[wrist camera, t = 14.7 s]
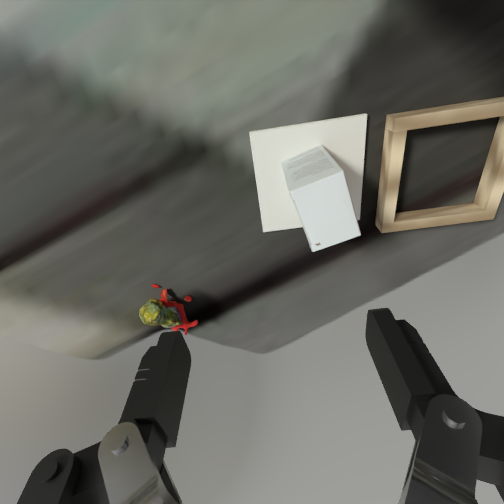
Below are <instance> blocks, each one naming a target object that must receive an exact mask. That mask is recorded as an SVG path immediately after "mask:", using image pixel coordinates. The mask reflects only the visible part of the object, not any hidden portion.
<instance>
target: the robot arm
mask: <svg viewBox="0 0 504 504" xmlns="http://www.w3.org/2000/svg"><path fill="white" fill-rule="evenodd" d="M366 342H367V346H368V349H369V351H370V354H371V356H372V359H373V361H374V364H375V366H376V369H377V371H378V374H379V376H380V379H381V381H382V384H383V386H384V389H385V391H386V393H387V396H388V398H389V401H390V403H391V406H392V408H393V411H394V413H395V416H396V418H397V421H398V423H399V426H400V428H401V430H411V431H412V433H413V435H414V438H415V440H416V441H415V445H414V448H413V452H412V456H411V459H410V464H409V467H408V471H407V474H406V478H405V482H404V486H403V489H402V493H401V497H400V500H399V503H398V504H478V503H477V500H476V499H475V486H476V479H477V480H480V481H484V482H487V483H490V484H494V485H495V486H496V488H497V490H498V492H499V494H500V496H501V497H502V499H503V501H504V417H502V416H498V415H493V414H489V413H485V412H482V411H479V410H477V409H474V408H473V407H471V406H470V405H469V404H468V403H467V402H465V401H464V400H462V399H460V398H459V397H458V396H457V395H456V394H455V392H454V391H453V390H452V388H451V386H450V385H449V383H448V382H447V380H446V378H445V376H444V375H443V373H442V372H441V370H440V368H439V367H438V365H437V363H436V362H435V360H434V358H433V357H432V355H431V354H430V353H429V350H428V348H427V347H426V345H425V344H424V343H423V341H422V339H421V337H420V335H419V334H418V332H417V330H416V329H415V328H414V327H413V326H411V325H410V324H409V323H408V322H406V321H405V320H395V319H394V316H393V314H392V313H391V311H390V310H389V309H388V308H381V309H373V310H368V314H367V324H366ZM190 367H191V355H190V351H189V349H188V347H187V344H186V342H185V340H184V338H183V336H182V333H181V332H180V331H172V332H164V333H162V334H161V335H160V337H159V341H158V344H157V346H152V347H150V348H149V349H148V351H147V352H146V354H145V355H144V356H143V357H142V360H141V363H140V366H139V368H138V372H137V374H136V377H135V382H134V383H133V386H132V388H131V391H130V394H129V396H128V399H127V402H126V405H125V408H124V411H123V413H122V417H121V419H120V421H119V423H118V425H116V426H115V427H113V428H112V429H111V430H110V431H109V432H108V433H107V434H106V435H105V437H104V438H103V440H102V441H101V442H99V443H97V444H95V445H92V446H90V447H88V448H85V449H83V450H81V451H79V452H76V453H74V454H73V453H72V452H71V451H69V450H68V449H58V450H56V451H53V452H51V453H50V454H48V455H47V456H46V457H44V458H43V459H42V460H41V461H40V462H39V463H38V465H37V466H36V467H35V469H34V470H33V472H32V473H31V475H30V477H29V479H28V481H27V484H26V486H25V488H24V490H23V492H22V494H21V496H20V498H19V500H18V502H17V504H183V503H182V500H181V498H180V496H179V494H178V491H177V489H176V487H175V484H174V482H173V480H172V478H171V475H170V473H169V471H168V469H167V466H166V464H165V462H164V460H163V458H164V454H165V449H166V448H170V447H175V446H176V441H177V435H178V430H179V424H180V420H181V414H182V409H183V404H184V399H185V394H186V388H187V383H188V378H189V372H190Z"/></svg>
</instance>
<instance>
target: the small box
mask: <svg viewBox="0 0 504 504" xmlns="http://www.w3.org/2000/svg"><path fill="white" fill-rule="evenodd" d="M281 165H282V169H283V172H284V176H285V180H286V184H287V187H288V191H289V194H290V196H291V198H292V200H293V203H294V205H295V208H296V210H297V213H298V215H299V218H300V220H301V223H302V226H303V228H304V231H305V233H306V236H307V239H308V241H309V244H310V247H311V250H312V252H314V251H317V250H320V249H323V248H326V247H329V246H332V245H335V244H337V243H340V242H343V241H346V240H349V239H352V238H355V237H357V236H360V235H361V232H360V228H359V225H358V221H357V217H356V213H355V210H354V206H353V202H352V199H351V195H350V191H349V188H348V184H347V180H346V177H345V173H344V170H343V169H342V168H341V166H340V165H339V164H338V163H337V162H336V161H335V160H334V158H333V157H332V156H331V155H330V154H329V153H328V151H327V150H326V149H325V148H324V147H323V146H322V145H319V146H316V147H314V148H311V149H309V150H307V151H304V152H302V153H300V154H297V155H295V156H293V157H290V158H288V159H286V160H284V161H282V162H281Z"/></svg>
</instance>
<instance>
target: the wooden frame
mask: <svg viewBox="0 0 504 504" xmlns="http://www.w3.org/2000/svg"><path fill="white" fill-rule="evenodd" d="M499 116H500V118H499V121H498V124H497V128H496V131H495V134H494V138H493V141H492V144H491V147H490V151H489V154H488V157H487V160H486V164H485V167H484V170H483V173H482V177H481V180H480V183H479V187H478V190H477V193H476V196H475V200H474V203H470V204H462V205H454V206H447V207H439V208H431V209H423V210H416V211H408V212H400V213H395V211H396V204H397V197H398V190H399V183H400V176H401V169H402V162H403V155H404V149H405V142H406V135H407V130H412V129H419V128H426V127H432V126H439V125H446V124H452V123H459V122H466V121H472V120H479V119H486V118H492V117H499ZM503 192H504V97H498V98H491V99H485V100H478V101H472V102H465V103H459V104H453V105H446V106H440V107H433V108H427V109H420V110H414V111H407V112H401V113H395V114H388V115H387V116H386V125H385V135H384V144H383V154H382V163H381V173H380V183H379V192H378V202H377V211H376V221H375V225H376V227H377V228H378V229H379V230H380V232H381V233H386V232H394V231H403V230H411V229H419V228H427V227H435V226H443V225H451V224H459V223H467V222H475V221H483V220H491V219H494V217H495V214H496V211H497V209H498V206H499V203H500V200H501V197H502V195H503Z"/></svg>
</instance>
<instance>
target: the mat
mask: <svg viewBox="0 0 504 504" xmlns="http://www.w3.org/2000/svg"><path fill="white" fill-rule="evenodd" d="M366 125H367V114H359V115H353V116H346V117H340V118H334V119H327V120H321V121H314V122H308V123H302V124H295V125H289V126H282V127H276V128H270V129H263V130H257V131H251V132H249V134H250V141H251V148H252V155H253V162H254V169H255V176H256V183H257V190H258V198H259V205H260V212H261V219H262V226H263V232H269V231H277V230H285V229H292V228H300V227H303V226H302V223H301V220H300V218H299V215H298V213H297V210H296V208H295V205H294V203H293V200H292V198H291V196H290V194H289V191H288V187H287V184H286V180H285V176H284V172H283V169H282V165H281V162H282V161H284V160H286V159H288V158H290V157H293V156H295V155H297V154H300V153H302V152H304V151H307V150H309V149H311V148H314V147H316V146H319V145H322V146H323V147H324V148H325V149H326V150H327V151H328V153H329V154H330V155H331V156H332V157H333V158H334V160H335V161H336V162H337V163H338V164H339V165H340V166H341V168H342V169H343V170H344V173H345V177H346V180H347V184H348V188H349V191H350V195H351V199H352V202H353V206H354V210H355V213H356V217H357V220H360V210H361V196H362V182H363V168H364V154H365V139H366Z"/></svg>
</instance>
